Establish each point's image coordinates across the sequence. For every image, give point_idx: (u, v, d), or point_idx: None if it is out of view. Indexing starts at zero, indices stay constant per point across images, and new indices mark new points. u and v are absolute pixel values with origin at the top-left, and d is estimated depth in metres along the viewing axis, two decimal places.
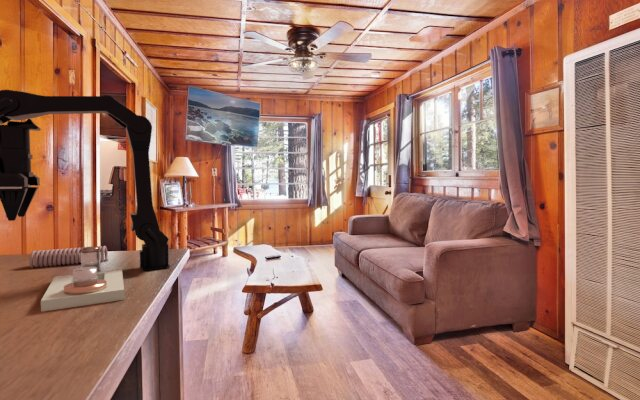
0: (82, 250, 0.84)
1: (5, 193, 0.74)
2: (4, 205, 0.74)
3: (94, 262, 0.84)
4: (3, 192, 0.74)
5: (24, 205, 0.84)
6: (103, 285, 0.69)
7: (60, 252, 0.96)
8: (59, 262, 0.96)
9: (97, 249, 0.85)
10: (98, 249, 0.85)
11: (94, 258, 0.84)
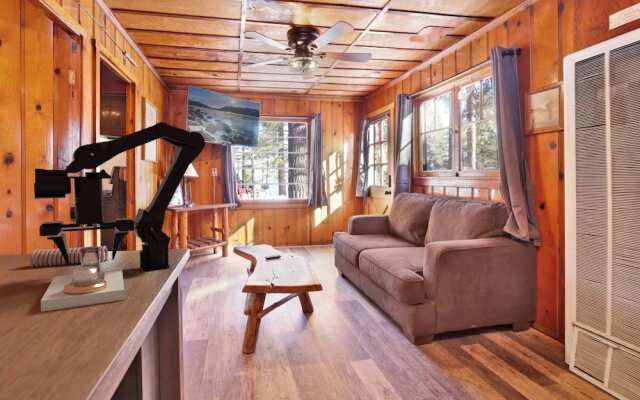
0: (82, 250, 0.84)
1: None
2: None
3: (94, 262, 0.84)
4: None
5: (112, 249, 0.87)
6: (103, 285, 0.69)
7: (60, 252, 0.96)
8: (59, 262, 0.96)
9: (97, 249, 0.85)
10: (98, 249, 0.85)
11: (94, 258, 0.84)
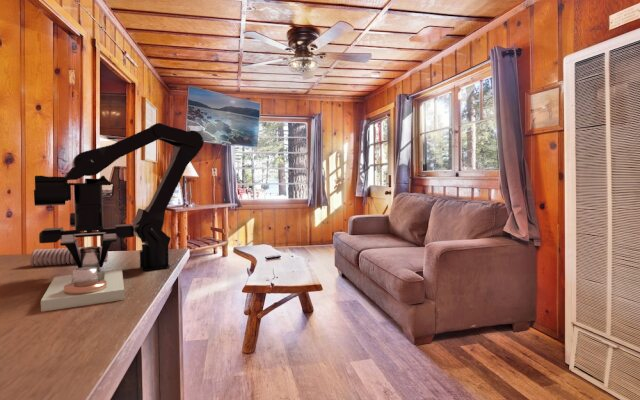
0: (82, 250, 0.84)
1: None
2: None
3: (94, 262, 0.84)
4: None
5: None
6: (103, 285, 0.69)
7: (60, 252, 0.97)
8: (59, 261, 0.96)
9: (97, 249, 0.85)
10: (98, 249, 0.85)
11: (94, 258, 0.84)
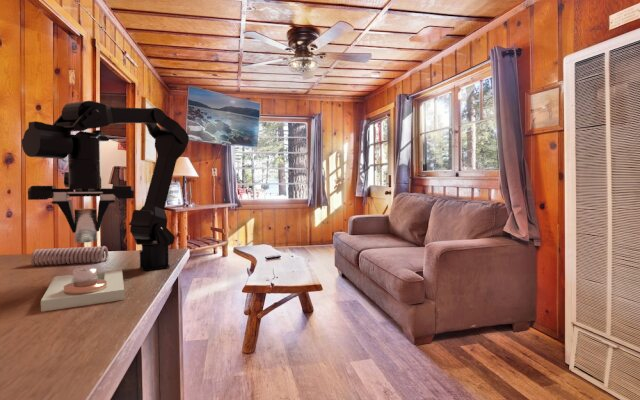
0: (76, 211, 0.75)
1: None
2: None
3: (89, 224, 0.76)
4: None
5: (97, 219, 0.77)
6: (103, 285, 0.69)
7: (60, 251, 0.97)
8: (59, 261, 0.97)
9: (93, 210, 0.77)
10: (94, 211, 0.77)
11: (89, 220, 0.76)
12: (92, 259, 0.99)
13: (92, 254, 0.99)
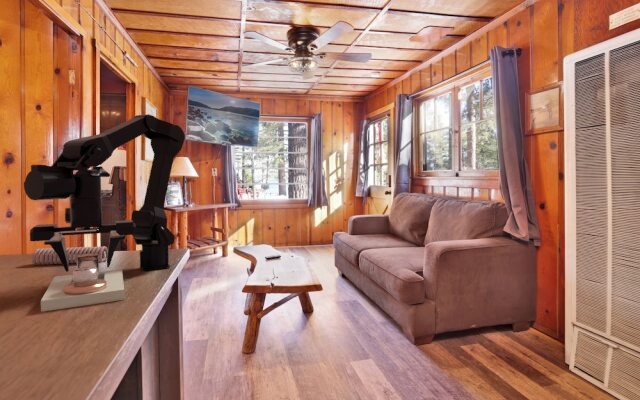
0: (79, 258, 0.75)
1: None
2: None
3: None
4: None
5: None
6: (103, 285, 0.69)
7: None
8: (59, 261, 0.97)
9: (95, 257, 0.77)
10: (96, 257, 0.77)
11: None
12: None
13: None
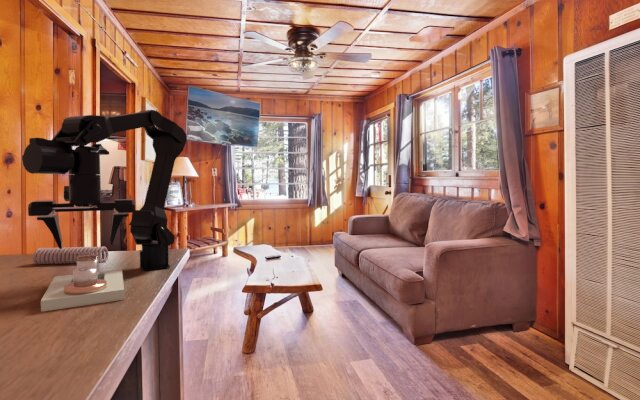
0: (79, 258, 0.75)
1: None
2: None
3: None
4: None
5: None
6: (103, 285, 0.69)
7: (60, 251, 0.98)
8: (59, 261, 0.97)
9: (95, 257, 0.77)
10: (96, 257, 0.77)
11: None
12: None
13: None
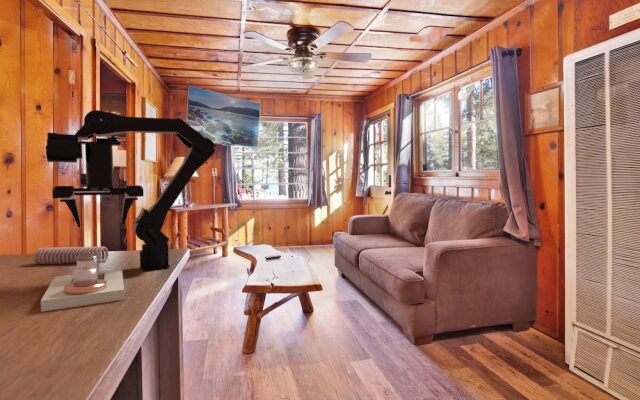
0: (79, 258, 0.75)
1: None
2: None
3: None
4: None
5: (122, 214, 0.89)
6: (103, 285, 0.69)
7: (61, 251, 0.98)
8: (59, 260, 0.97)
9: (95, 257, 0.77)
10: (96, 257, 0.77)
11: None
12: None
13: None
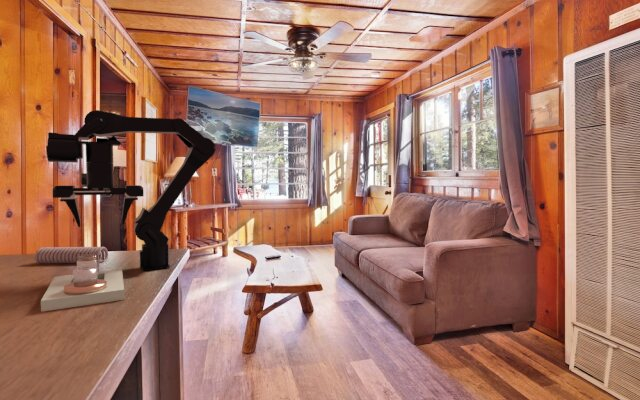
0: (79, 258, 0.75)
1: None
2: None
3: None
4: None
5: (122, 214, 0.90)
6: (103, 285, 0.69)
7: (61, 250, 0.98)
8: (59, 260, 0.98)
9: (95, 257, 0.77)
10: (96, 257, 0.77)
11: None
12: None
13: None
